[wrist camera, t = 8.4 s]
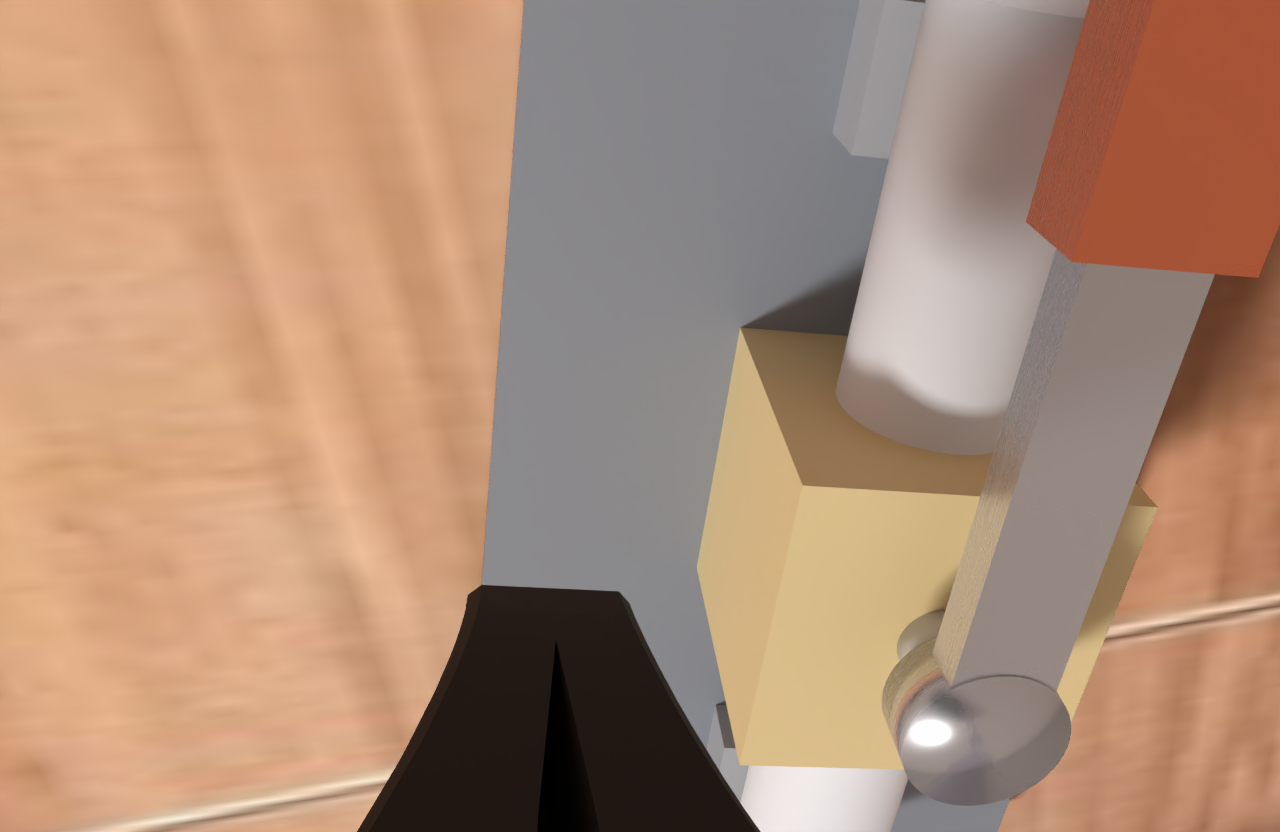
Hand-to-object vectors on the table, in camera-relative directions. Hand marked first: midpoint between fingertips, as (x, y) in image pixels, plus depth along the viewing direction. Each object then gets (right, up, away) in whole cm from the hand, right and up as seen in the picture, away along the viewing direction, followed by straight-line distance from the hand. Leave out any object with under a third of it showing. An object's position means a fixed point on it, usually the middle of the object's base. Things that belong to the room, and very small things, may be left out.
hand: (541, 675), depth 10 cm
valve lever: (+6, +3, +3) cm, 7 cm away
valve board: (+5, +2, +11) cm, 12 cm away
